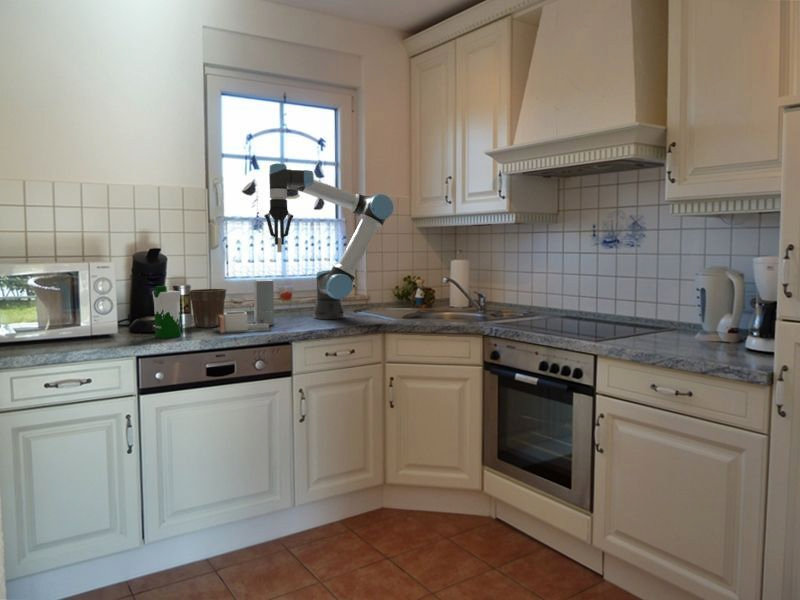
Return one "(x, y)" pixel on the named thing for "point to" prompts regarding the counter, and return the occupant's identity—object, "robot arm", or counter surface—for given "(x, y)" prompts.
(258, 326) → the rail dock
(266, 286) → the hard drive box
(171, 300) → the milk carton
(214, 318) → the plant pot
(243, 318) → the din module
